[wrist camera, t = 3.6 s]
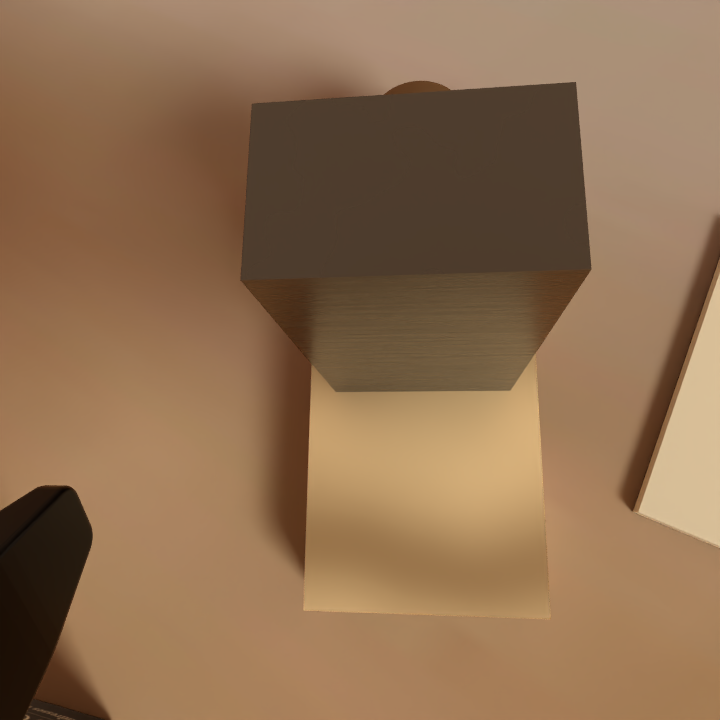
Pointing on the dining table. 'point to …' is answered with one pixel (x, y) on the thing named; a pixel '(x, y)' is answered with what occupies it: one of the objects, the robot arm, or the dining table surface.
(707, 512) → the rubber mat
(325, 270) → the lever cap
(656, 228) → the dining table surface
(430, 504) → the plane body
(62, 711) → the small box
